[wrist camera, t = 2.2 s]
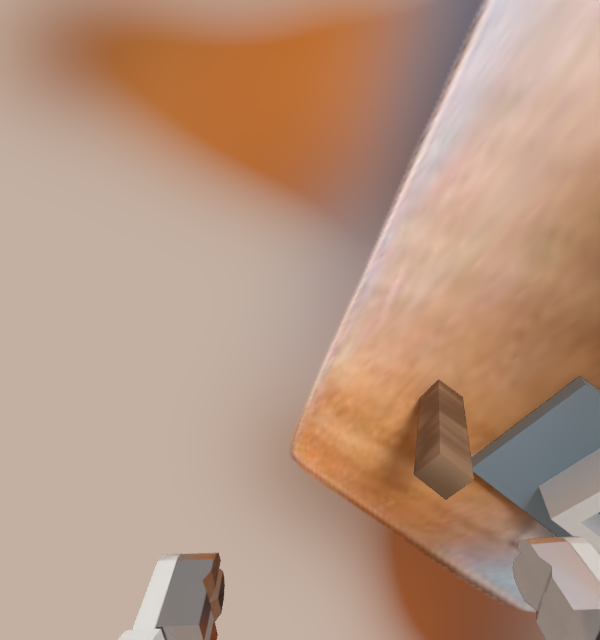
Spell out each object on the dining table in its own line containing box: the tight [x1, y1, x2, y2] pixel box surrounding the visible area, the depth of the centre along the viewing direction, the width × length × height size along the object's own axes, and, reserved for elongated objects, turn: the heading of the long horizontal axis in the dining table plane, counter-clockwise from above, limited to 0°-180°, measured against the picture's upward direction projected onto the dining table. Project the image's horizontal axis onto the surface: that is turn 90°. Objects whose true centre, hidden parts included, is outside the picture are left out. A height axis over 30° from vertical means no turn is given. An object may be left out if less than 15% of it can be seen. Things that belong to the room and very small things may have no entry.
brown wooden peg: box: [414, 380, 474, 500], centre depth 31 cm, size 3×3×12 cm
